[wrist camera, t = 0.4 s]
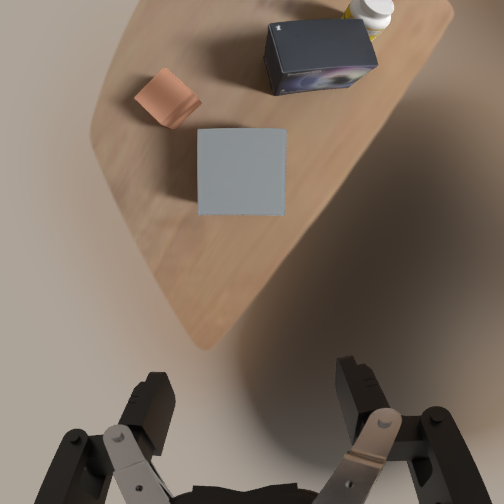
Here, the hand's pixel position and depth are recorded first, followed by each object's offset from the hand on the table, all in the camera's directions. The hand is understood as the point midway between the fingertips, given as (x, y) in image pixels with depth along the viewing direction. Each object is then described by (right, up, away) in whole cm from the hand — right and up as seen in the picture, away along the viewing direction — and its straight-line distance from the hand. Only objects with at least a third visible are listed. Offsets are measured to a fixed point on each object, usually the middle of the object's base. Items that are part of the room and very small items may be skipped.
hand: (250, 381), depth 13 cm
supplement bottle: (+14, +37, +18) cm, 43 cm away
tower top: (-1, +15, +20) cm, 25 cm away
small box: (+7, +30, +20) cm, 36 cm away
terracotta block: (-10, +25, +21) cm, 34 cm away
